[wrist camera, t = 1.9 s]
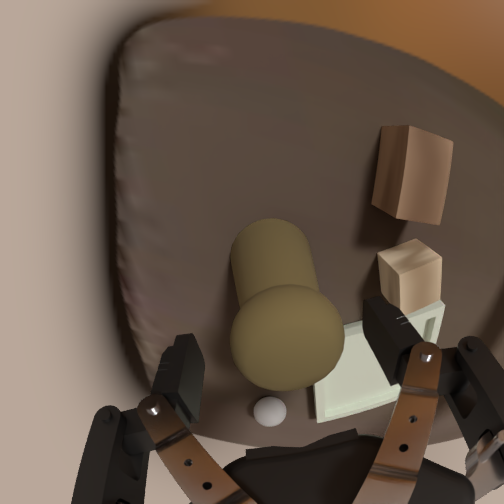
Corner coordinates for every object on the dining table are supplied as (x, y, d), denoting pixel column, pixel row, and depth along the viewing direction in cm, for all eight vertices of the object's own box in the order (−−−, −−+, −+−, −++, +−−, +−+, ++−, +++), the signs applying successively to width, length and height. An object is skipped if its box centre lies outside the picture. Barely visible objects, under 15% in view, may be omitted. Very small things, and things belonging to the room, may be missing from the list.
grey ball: (282, 387, 26) (285, 413, 23) (286, 405, 28) (289, 429, 24) (250, 392, 26) (250, 418, 23) (256, 409, 28) (257, 433, 25)
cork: (316, 281, 21) (363, 388, 11) (243, 300, 22) (242, 417, 12) (301, 208, 19) (360, 287, 9) (219, 231, 19) (193, 329, 9)
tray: (437, 296, 22) (445, 305, 21) (415, 382, 28) (419, 390, 26) (307, 333, 23) (311, 345, 22) (315, 413, 29) (317, 423, 27)
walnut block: (422, 138, 17) (453, 141, 13) (411, 210, 19) (439, 225, 16) (380, 126, 17) (409, 125, 13) (370, 203, 19) (395, 218, 15)
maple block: (415, 238, 20) (441, 257, 16) (417, 277, 22) (439, 299, 18) (376, 252, 21) (399, 274, 17) (380, 291, 22) (400, 317, 18)
